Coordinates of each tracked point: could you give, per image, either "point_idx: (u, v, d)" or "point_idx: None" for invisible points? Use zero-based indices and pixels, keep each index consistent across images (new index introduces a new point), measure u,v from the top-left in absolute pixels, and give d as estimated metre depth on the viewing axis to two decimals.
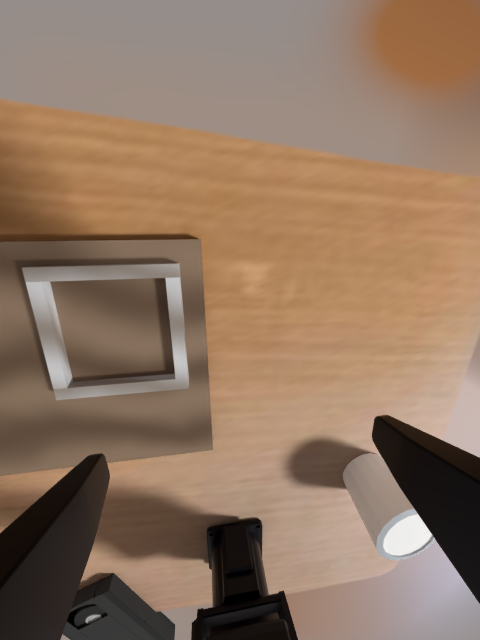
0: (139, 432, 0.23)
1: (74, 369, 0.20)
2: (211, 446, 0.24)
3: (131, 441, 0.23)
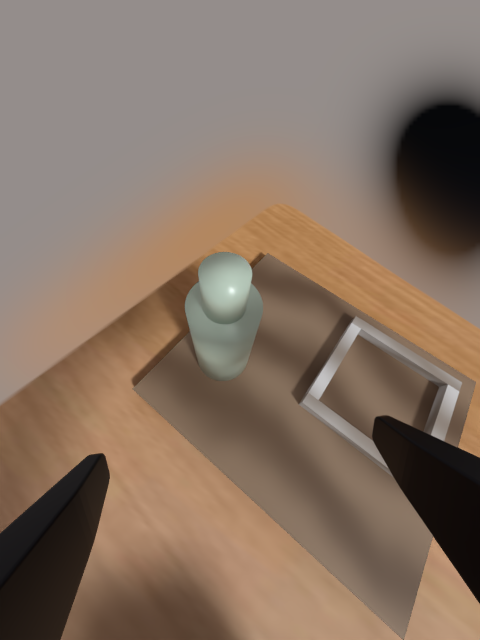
0: (331, 508, 0.18)
1: (323, 394, 0.21)
2: (404, 630, 0.15)
3: (314, 512, 0.17)
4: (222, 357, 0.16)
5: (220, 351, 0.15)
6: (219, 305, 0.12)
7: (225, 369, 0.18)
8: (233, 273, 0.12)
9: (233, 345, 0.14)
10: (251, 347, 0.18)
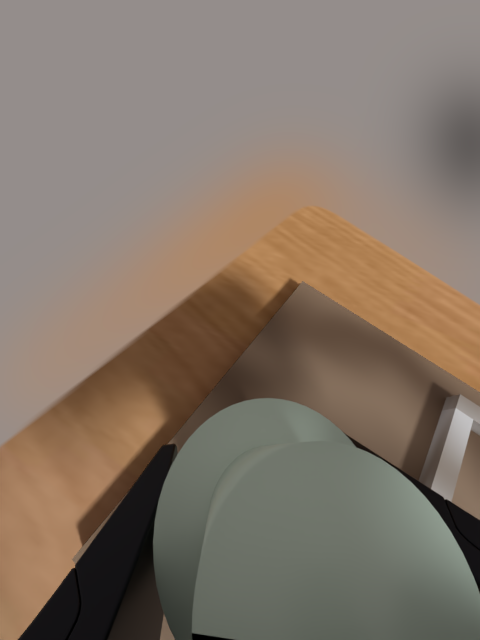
0: None
1: None
2: None
3: None
4: None
5: None
6: None
7: None
8: (387, 613, 0.02)
9: None
10: None
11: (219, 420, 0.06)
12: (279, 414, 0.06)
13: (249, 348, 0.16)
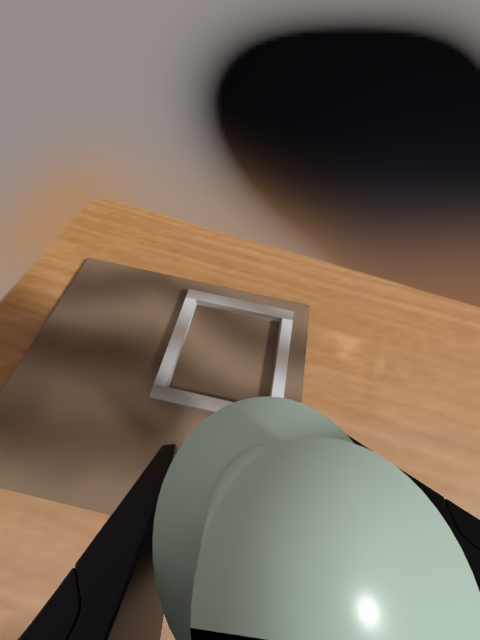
0: None
1: (175, 377, 0.21)
2: None
3: None
4: None
5: None
6: None
7: None
8: (386, 609, 0.02)
9: None
10: None
11: (218, 418, 0.06)
12: (278, 412, 0.06)
13: (52, 314, 0.23)
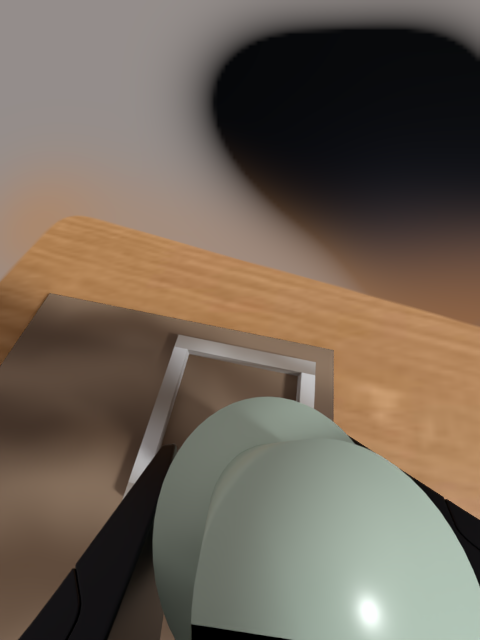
0: None
1: None
2: None
3: None
4: None
5: None
6: None
7: None
8: (388, 611, 0.02)
9: None
10: None
11: (219, 419, 0.06)
12: (279, 413, 0.06)
13: None
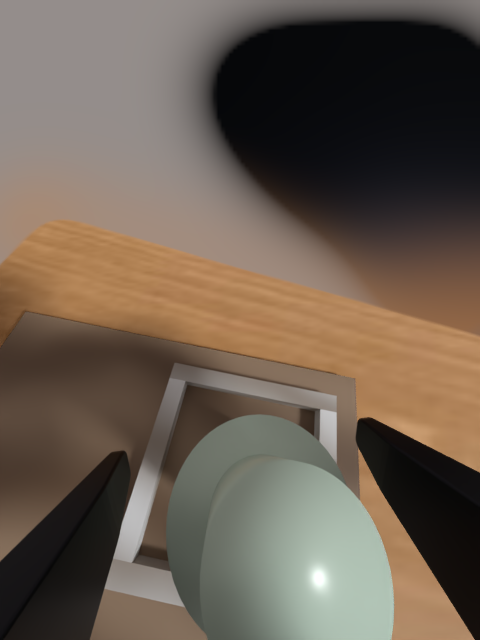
0: None
1: (152, 527, 0.13)
2: None
3: None
4: None
5: None
6: None
7: None
8: (326, 575, 0.03)
9: None
10: None
11: (218, 433, 0.07)
12: (268, 428, 0.07)
13: None
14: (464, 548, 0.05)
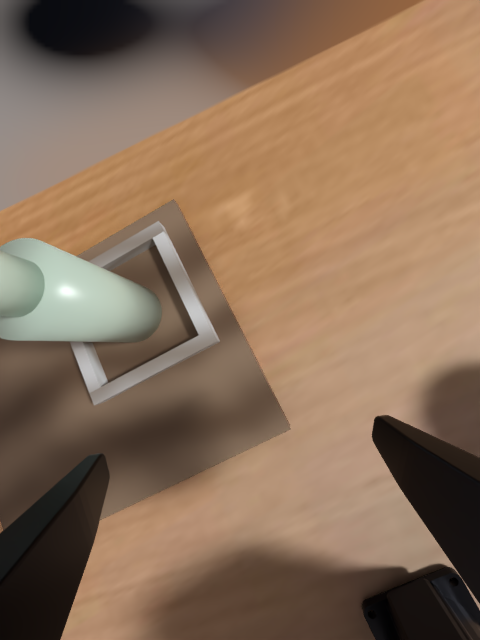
0: (190, 428, 0.18)
1: (107, 370, 0.20)
2: (286, 424, 0.17)
3: (185, 445, 0.18)
4: (90, 332, 0.13)
5: (73, 333, 0.12)
6: None
7: (125, 332, 0.16)
8: None
9: (69, 320, 0.11)
10: (123, 295, 0.15)
11: None
12: None
13: None
14: None
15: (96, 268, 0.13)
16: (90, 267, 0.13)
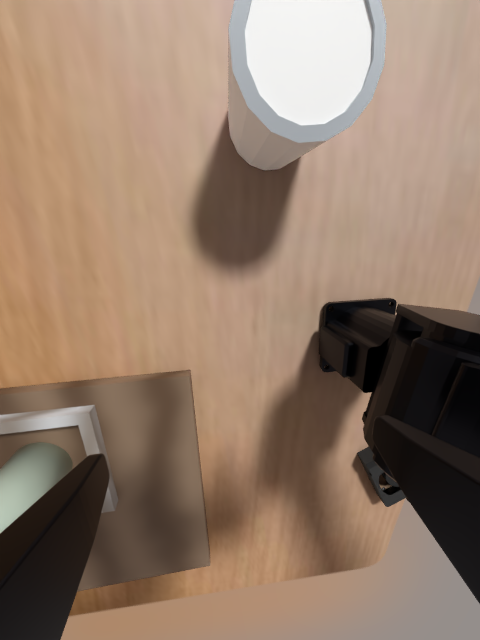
0: (162, 444, 0.22)
1: None
2: (184, 377, 0.20)
3: (174, 451, 0.22)
4: None
5: None
6: None
7: (43, 494, 0.18)
8: None
9: None
10: None
11: None
12: None
13: (87, 588, 0.26)
14: None
15: None
16: None
